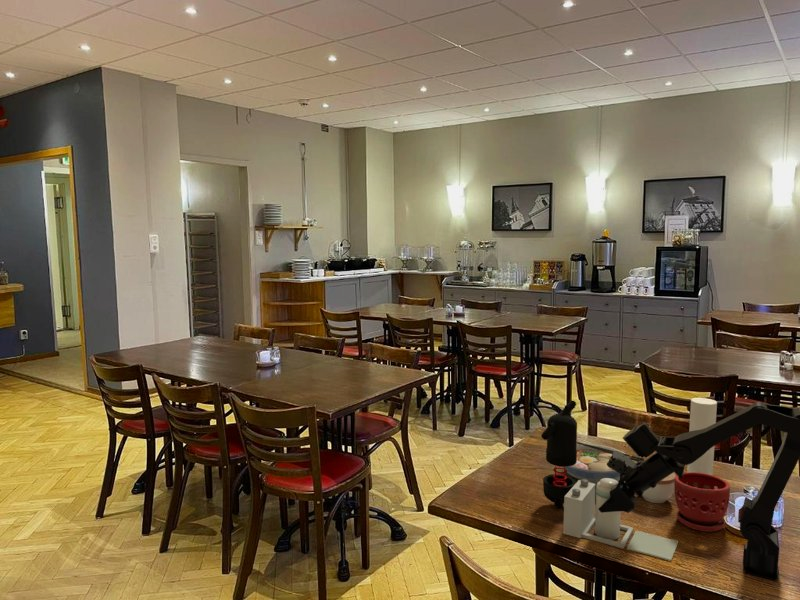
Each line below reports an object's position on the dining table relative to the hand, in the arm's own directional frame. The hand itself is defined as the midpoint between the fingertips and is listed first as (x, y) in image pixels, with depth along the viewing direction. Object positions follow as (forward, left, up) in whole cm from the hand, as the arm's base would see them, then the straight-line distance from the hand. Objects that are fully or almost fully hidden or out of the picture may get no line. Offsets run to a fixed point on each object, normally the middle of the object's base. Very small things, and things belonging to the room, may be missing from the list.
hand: (603, 503), depth 155 cm
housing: (+1, 0, -8) cm, 8 cm away
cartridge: (-1, 0, -8) cm, 8 cm away
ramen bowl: (+12, -32, -8) cm, 35 cm away
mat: (-12, 0, -8) cm, 14 cm away
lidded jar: (-7, -28, -8) cm, 30 cm away
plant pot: (-20, -19, -8) cm, 29 cm away
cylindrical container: (-16, -50, -8) cm, 53 cm away
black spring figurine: (+15, -7, -8) cm, 18 cm away
